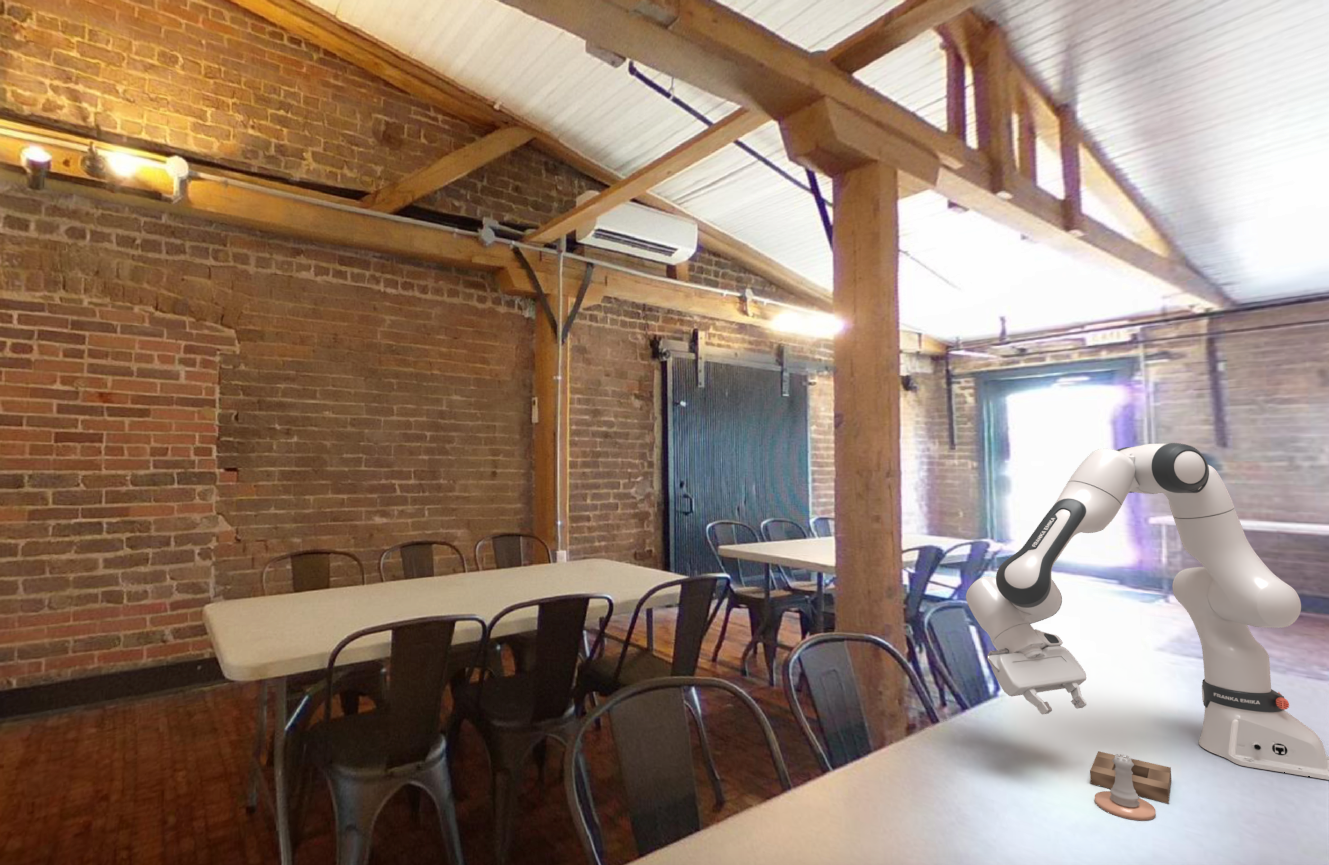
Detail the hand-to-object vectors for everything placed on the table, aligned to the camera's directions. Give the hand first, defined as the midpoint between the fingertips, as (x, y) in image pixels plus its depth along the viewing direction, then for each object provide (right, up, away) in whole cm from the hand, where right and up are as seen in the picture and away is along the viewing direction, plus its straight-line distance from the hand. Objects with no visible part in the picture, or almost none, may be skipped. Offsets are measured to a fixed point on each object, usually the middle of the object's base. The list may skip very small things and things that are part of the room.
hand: (1065, 709), depth 129 cm
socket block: (+12, -14, -1) cm, 18 cm away
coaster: (+4, -13, -11) cm, 18 cm away
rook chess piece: (+4, -12, -11) cm, 17 cm away
